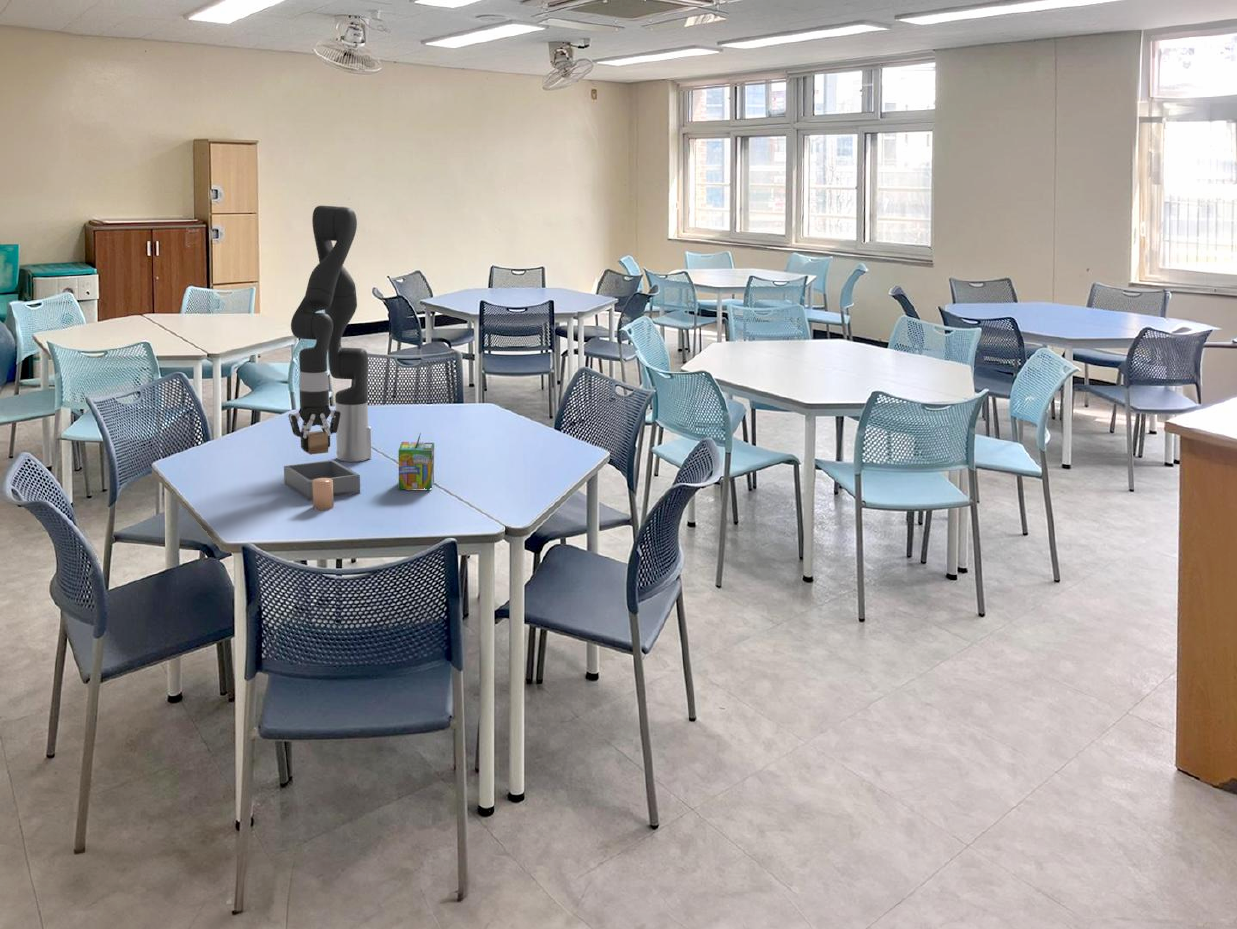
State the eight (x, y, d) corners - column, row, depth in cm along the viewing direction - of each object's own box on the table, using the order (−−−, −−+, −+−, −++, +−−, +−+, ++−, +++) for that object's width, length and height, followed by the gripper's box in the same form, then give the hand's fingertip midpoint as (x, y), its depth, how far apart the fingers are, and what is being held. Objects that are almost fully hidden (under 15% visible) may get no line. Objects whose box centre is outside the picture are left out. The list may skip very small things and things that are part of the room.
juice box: (401, 481, 297) (400, 429, 293) (434, 482, 298) (434, 430, 294) (397, 490, 288) (396, 437, 284) (431, 491, 289) (431, 438, 285)
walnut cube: (328, 452, 287) (327, 434, 285) (310, 454, 284) (309, 436, 282) (321, 448, 290) (320, 430, 289) (303, 450, 288) (302, 432, 286)
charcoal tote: (333, 477, 298) (333, 460, 297) (360, 493, 284) (359, 475, 283) (284, 483, 290) (283, 466, 288) (309, 500, 276) (308, 481, 275)
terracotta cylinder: (329, 503, 274) (328, 476, 273) (336, 508, 271) (335, 481, 269) (310, 505, 272) (309, 479, 270) (317, 511, 268) (316, 484, 266)
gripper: (292, 392, 276) (295, 456, 280) (345, 388, 284) (346, 450, 288) (282, 387, 281) (284, 450, 286) (334, 383, 290) (335, 444, 294)
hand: (315, 449), depth 287 cm, fingers closed on walnut cube, 5 cm apart
